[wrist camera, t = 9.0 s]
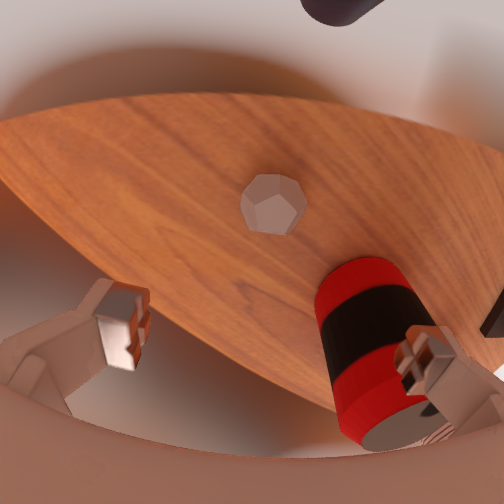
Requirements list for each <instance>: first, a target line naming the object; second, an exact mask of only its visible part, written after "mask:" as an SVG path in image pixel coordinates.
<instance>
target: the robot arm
mask: <svg viewBox="0 0 504 504" xmlns="http://www.w3.org/2000/svg"><path fill="white" fill-rule="evenodd" d="M149 302H150V291H149V289H148V288H143V287H139V286H134V285H130V284H126V283H122V282H117V281H112V280H108V279H104V278H100V279H98V280H97V281H96V282H95V283H94V285H93V286H92V287H91V289H90V290H89V291H88V293H87V294H86V296H85V297H84V298H83V300H82V301H81V302H80V304H79V305H78V307H77V308H76V309H75V311H73V310H68V311H66V312H64V313H62V314H59V315H57V316H55V317H53V318H50V319H48V320H46V321H44V322H41V323H39V324H37V325H35V326H33V327H30V328H28V329H26V330H24V331H22V332H19V333H17V334H15V335H13V336H11V337H8V338H6V339H4V340H3V341H2V343H1V344H0V504H504V382H503V381H501V380H500V379H499V378H498V377H496V376H495V375H494V374H493V373H491V372H490V371H489V370H487V369H486V368H485V367H483V366H482V365H481V364H479V363H478V362H477V361H475V360H474V359H473V358H472V357H468V356H467V355H466V353H465V352H464V350H463V348H462V347H461V345H460V344H459V342H458V341H457V339H456V338H455V336H454V334H453V333H452V331H451V330H450V328H448V327H447V326H424V325H412V326H411V327H410V328H409V329H408V330H407V332H406V334H405V336H406V339H405V340H404V341H403V342H401V343H400V344H399V345H398V347H397V349H396V351H395V355H394V365H395V368H396V370H397V371H398V372H399V373H400V374H401V375H402V378H401V383H402V385H403V388H404V390H405V393H406V395H425V394H426V395H425V396H426V397H427V398H428V399H429V400H430V401H431V403H432V404H433V405H434V406H435V407H436V408H437V409H438V410H439V411H440V413H441V414H442V415H443V416H444V417H445V418H446V419H447V420H448V422H449V423H450V424H451V425H452V426H453V427H454V428H455V429H456V430H455V431H454V432H453V433H452V434H451V435H450V436H449V437H448V439H447V440H443V441H439V442H435V443H430V444H426V445H421V446H417V447H412V448H407V449H400V450H394V451H388V452H381V453H373V454H365V455H354V456H342V457H326V458H269V457H252V456H239V455H230V454H221V453H213V452H206V451H199V450H193V449H187V448H182V447H176V446H171V445H166V444H162V443H157V442H153V441H149V440H144V439H140V438H137V437H133V436H129V435H126V434H122V433H118V432H115V431H112V430H109V429H105V428H102V427H99V426H96V425H94V424H90V423H87V422H85V421H82V420H79V419H77V418H74V417H73V416H72V413H71V411H70V410H69V408H68V406H67V404H66V402H65V401H64V398H66V397H67V396H68V395H70V394H71V393H72V392H74V391H75V390H76V389H78V388H79V387H80V386H81V385H83V384H84V383H86V382H87V381H88V380H89V379H91V378H92V377H94V376H95V375H96V374H97V373H99V372H100V371H102V370H103V369H104V368H106V367H107V365H108V366H113V367H117V368H121V369H125V370H129V371H135V369H136V367H137V364H138V361H139V359H140V356H141V349H140V346H142V345H144V344H145V343H146V340H147V338H148V334H149V330H150V322H151V314H150V312H149V310H148V309H147V307H148V304H149Z"/></svg>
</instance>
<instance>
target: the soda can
mask: <svg viewBox="0 0 504 504" xmlns="http://www.w3.org/2000/svg"><path fill="white" fill-rule="evenodd" d="M315 314H316V318H317V322H318V326H319V331H320V335H321V340H322V344H323V349H324V353H325V358H326V362H327V367H328V372H329V376H330V381H331V386H332V391H333V396H334V401H335V406H336V411H337V416H338V422H339V427H340V430H341V432H342V433H343V434H344V435H346V436H347V437H348V438H350V439H352V440H353V441H355V442H356V443H358V444H359V445H361V446H362V447H363V448H364V449H366V450H368V451H373V452H379V451H380V452H381V451H388V450H393V449H398V448H401V447H404V446H407V445H410V444H412V443H414V442H417V441H419V440H421V439H423V438H425V437H427V436H428V435H430V434H432V433H433V432H435V431H436V430H438V429H439V428H440V427H441V426H443V425H444V424H445V423H446V422H447V421H448V420H447V419H446V418H445V417H444V416H443V415H442V414H441V413H440V411H439V410H438V409H437V408H436V407H435V406H434V405H433V404H432V403H431V401H430V400H429V399H428V398H427V397H426V396H425V395H426V394H425V395H406V393H405V390H404V388H403V385H402V383H401V378H402V375H401V374H400V373H399V372H398V371H397V370H396V368H395V365H394V355H395V351H396V349H397V347H398V345H399V344H400V343H401V342H403V341H404V340H405V339H406V336H405V334H406V332H407V330H408V329H409V328H410V327H411V326H412V325H424V326H436V324H435V322H434V321H433V319H432V318H431V316H430V315H429V313H428V311H427V310H426V308H425V307H424V305H423V304H422V302H421V301H420V299H419V298H418V296H417V295H416V293H415V292H414V290H413V289H412V287H411V286H410V285H409V283H408V282H407V280H406V279H405V277H404V276H403V275H402V273H401V272H400V270H399V269H398V268H397V267H396V266H395V265H394V264H393V263H391V262H389V261H387V260H385V259H381V258H372V257H367V258H361V259H356V260H353V261H350V262H348V263H346V264H344V265H342V266H340V267H339V268H337V269H336V270H335V271H333V272H332V273H331V274H330V275H329V276H328V277H327V278H326V279H325V280H324V282H323V283H322V285H321V286H320V288H319V290H318V292H317V295H316V298H315Z"/></svg>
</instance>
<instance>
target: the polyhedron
mask: <svg viewBox="0 0 504 504" xmlns="http://www.w3.org/2000/svg"><path fill="white" fill-rule="evenodd" d="M307 204H308V202H307V200H306V197H305V195H304V193H303V191H302V189H301V187H300V185H299V183H298V181H297V180H294V179H291V178H289V177H286V176H284V175H281V174H258V175H257V176H256V177H255V178H254V179H253V180H252V181H251V183H250V184H249V185H248V186H247V187H246V188H245V190H244V191H243V192H242V197H241V204H240V210H241V212H242V215H243V217H244V219H245V222H246V224H247V226H248V229H249V230H251V231H257V232H262V233H267V234H276V235H284V236H288V235H289V234H290V233H291V231H292V230H293V229H294V227H295V226H296V225H297V223H298V222H299V221H300V219H301V218H302V216H303V214H304V211H305V209H306V207H307Z"/></svg>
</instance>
